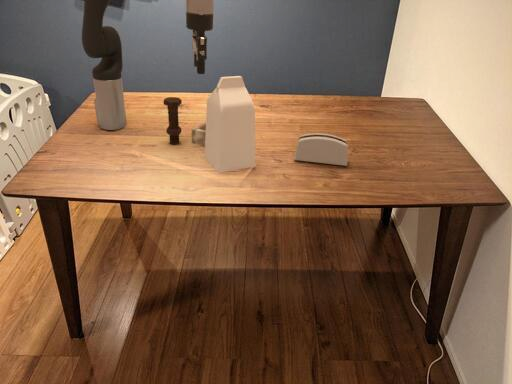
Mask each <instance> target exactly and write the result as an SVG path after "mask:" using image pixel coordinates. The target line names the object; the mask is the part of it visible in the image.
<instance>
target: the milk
mask: <svg viewBox="0 0 512 384" xmlns="http://www.w3.org/2000/svg"><path fill="white" fill-rule="evenodd" d="M205 118H206V119H205V122H206V136H205V146H204V159H205V160H206V161H207V162H208V163H209V164H210V165H211V167H212V168H214V169H215V170H216V172H217V173H218V174H221V173H226V172H231V171H232V172H233V171H236V170H243V169H244V170H245V169H249V168H255V167H256V108H255V104H254V101H253V99H252V97H251V96H250V94H249V91H248V90H247V88H246V85H245V83H244V79H243V76H241V75H234V76H233V75H232V76H220V79H219V80H218V83H217V85H216V87H215V89H214V90H213V91H212V92H211V94H210V95H209V96H208V98H207V101H206V114H205Z"/></svg>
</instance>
